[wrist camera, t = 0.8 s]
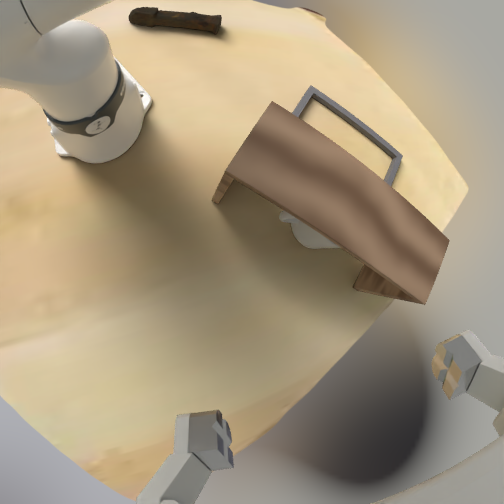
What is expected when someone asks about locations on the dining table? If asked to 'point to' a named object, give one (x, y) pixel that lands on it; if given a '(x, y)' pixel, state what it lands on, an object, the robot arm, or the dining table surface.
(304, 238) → the mug
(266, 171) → the wooden bridge arch
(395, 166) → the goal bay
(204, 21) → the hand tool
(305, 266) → the dining table surface
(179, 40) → the dining table surface
